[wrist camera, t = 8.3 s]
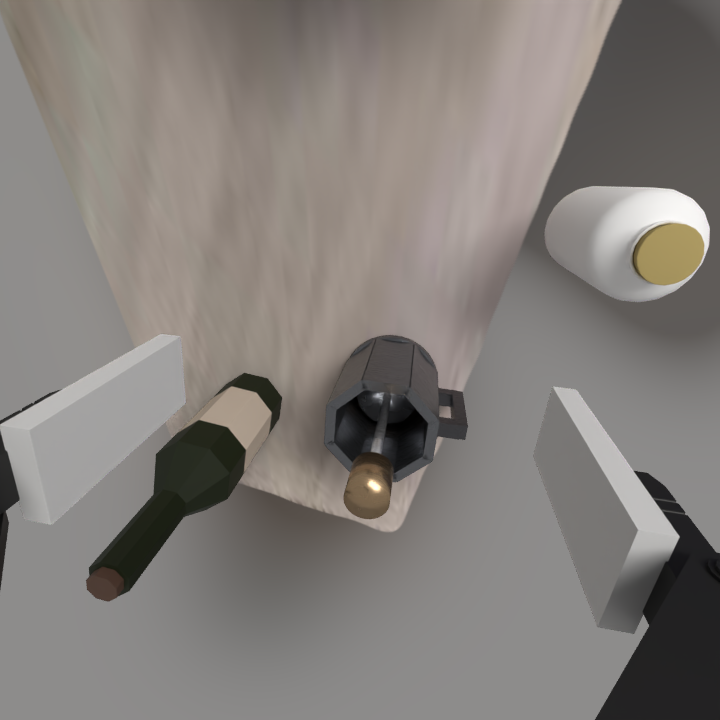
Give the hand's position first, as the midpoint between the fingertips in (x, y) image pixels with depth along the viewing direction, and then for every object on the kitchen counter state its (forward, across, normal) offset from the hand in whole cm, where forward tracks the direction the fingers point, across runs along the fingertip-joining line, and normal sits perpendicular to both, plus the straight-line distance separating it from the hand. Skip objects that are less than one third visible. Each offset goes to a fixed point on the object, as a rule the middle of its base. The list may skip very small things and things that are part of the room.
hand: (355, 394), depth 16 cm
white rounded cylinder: (+37, +18, +4) cm, 41 cm away
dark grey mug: (+37, +1, -16) cm, 40 cm away
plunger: (+33, 0, -16) cm, 36 cm away
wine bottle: (+37, -18, -22) cm, 47 cm away
